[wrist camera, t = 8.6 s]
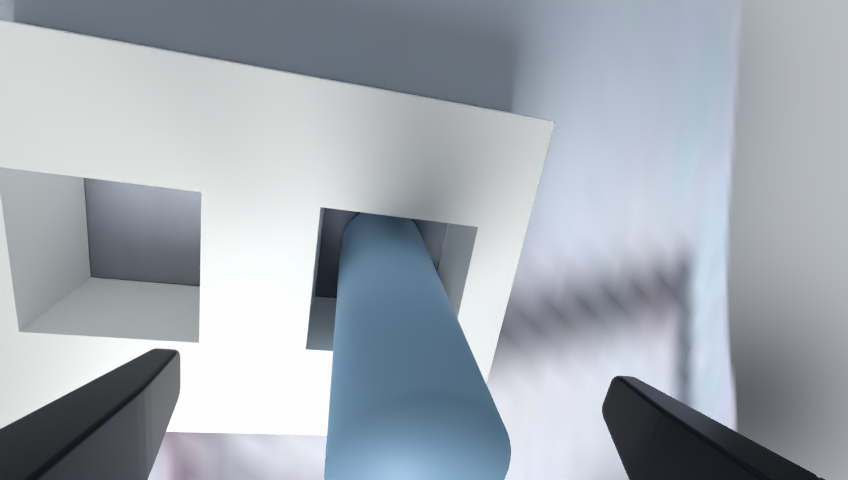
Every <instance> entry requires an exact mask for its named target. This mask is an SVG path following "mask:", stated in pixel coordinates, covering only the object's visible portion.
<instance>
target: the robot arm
mask: <svg viewBox="0 0 848 480" xmlns="http://www.w3.org/2000/svg"><path fill="white" fill-rule="evenodd" d="M179 393H180V353H179V352H178V351H177V350H175V349H160V348H155V349H152V350H150V351H148V352H146V353H144V354H142V355H140V356H138V357H137V358H135V359H133V360H131V361H129V362H127V363H125V364H123V365H121V366H119V367H117V368H115V369H114V370H112V371H110V372H108V373H106V374H104V375H102V376H100V377H98V378H96V379H94V380H93V381H91V382H89V383H87V384H85V385H83V386H81V387H79V388H77V389H75V390H73V391H72V392H70V393H68V394H66V395H64V396H62V397H60V398H58V399H56V400H54V401H52V402H51V403H49V404H47V405H45V406H43V407H41V408H39V409H37V410H35V411H33V412H31V413H30V414H28V415H26V416H24V417H22V418H20V419H18V420H16V421H14V422H12V423H10V424H9V425H7V426H5V427H3V428H1V429H0V480H147V479H148V477H149V474H150V472H151V469H152V467H153V464H154V461H155V459H156V456H157V454H158V451H159V448H160V446H161V443H162V440H163V438H164V435H165V433H166V430H167V427H168V425H169V422H170V419H171V417H172V414H173V412H174V409H175V406H176V404H177V401H178V398H179ZM602 413H603V417H604V420H605V422H606V425H607V427H608V430H609V432H610V434H611V437H612V439H613V442H614V444H615V446H616V449H617V451H618V454H619V456H620V459H621V461H622V463H623V466H624V468H625V471H626V473H627V475H628V477H629V480H825V479H823V478H818V477H817V476H816V475H815V474H813V473H812V472H809V471H808V470H806V469H804V468H802V467H800V466H799V465H797V464H795V463H793V462H791V461H789V460H787V459H785V458H783V457H782V456H780V455H778V454H776V453H774V452H772V451H771V450H769V449H767V448H765V447H763V446H761V445H759V444H758V443H756V442H754V441H752V440H750V439H748V438H746V437H744V436H743V435H741V434H739V433H737V432H735V431H733V430H732V429H730V428H728V427H726V426H724V425H722V424H720V423H719V422H717V421H715V420H713V419H711V418H709V417H707V416H706V415H704V414H702V413H700V412H698V411H696V410H694V409H693V408H691V407H689V406H687V405H685V404H683V403H681V402H680V401H678V400H676V399H674V398H672V397H670V396H668V395H667V394H665V393H663V392H661V391H659V390H657V389H655V388H653V387H652V386H650V385H648V384H646V383H644V382H642V381H640V380H639V379H637V378H635V377H630V376H616V377H614V378H613V380H612V381H611V384H610V387H609V389H608V392H607V395H606V397H605V400H604V403H603V406H602Z"/></svg>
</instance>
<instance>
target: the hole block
mask: <svg viewBox="0 0 848 480" xmlns="http://www.w3.org/2000/svg"><path fill="white" fill-rule="evenodd" d="M554 124H555V122H553V121H548V120H544V119H539V118H534V117H529V116H525V115H520V114H515V113H510V112H505V111H500V110H494V109H489V108H483V107H478V106H472V105H467V104H461V103H456V102H450V101H445V100H439V99H434V98H429V97H423V96H418V95H412V94H407V93H401V92H396V91H390V90H385V89H379V88H374V87H368V86H363V85H358V84H352V83H347V82H341V81H336V80H330V79H325V78H319V77H314V76H308V75H303V74H297V73H292V72H287V71H281V70H276V69H270V68H265V67H259V66H254V65H248V64H243V63H237V62H232V61H226V60H221V59H216V58H210V57H205V56H199V55H194V54H188V53H183V52H177V51H172V50H166V49H161V48H155V47H150V46H144V45H139V44H134V43H128V42H123V41H117V40H112V39H106V38H101V37H95V36H90V35H84V34H79V33H73V32H68V31H63V30H57V29H52V28H46V27H41V26H35V25H30V24H24V23H19V22H13V21H8V20H2V19H0V428H3V427H5V426H7V425H9V424H10V423H12V422H14V421H16V420H18V419H20V418H22V417H24V416H26V415H28V414H30V413H31V412H33V411H35V410H37V409H39V408H41V407H43V406H45V405H47V404H49V403H51V402H52V401H54V400H56V399H58V398H60V397H62V396H64V395H66V394H68V393H70V392H72V391H73V390H75V389H77V388H79V387H81V386H83V385H85V384H87V383H89V382H91V381H93V380H94V379H96V378H98V377H100V376H102V375H104V374H106V373H108V372H110V371H112V370H114V369H115V368H117V367H119V366H121V365H123V364H125V363H127V362H129V361H131V360H133V359H135V358H137V357H138V356H140V355H142V354H144V353H146V352H148V351H150V350H152V349H155V348H160V349H175V350H177V351H178V352H179V353H180V393H179V398H178V401H177V404H176V406H175V409H174V412H173V414H172V417H171V419H170V422H169V425H168V427H167V430H166V432H202V433H245V434H288V435H327V430H328V416H329V402H330V388H331V373H332V359H333V345H334V331H335V316H336V302H337V298H328V297H317V296H315V290H316V281H317V271H318V262H319V252H320V243H321V234H322V224H323V215H324V208H331V209H339V210H347V211H355V212H363V213H371V214H379V215H387V216H395V217H403V218H411V219H419V220H427V221H435V222H443V223H447V228H446V233H445V238H444V243H443V248H442V253H441V258H440V262H439V267H438V272H437V273H438V276H439V278H440V280H441V282H442V285H443V287H444V289H445V292H446V294H447V296H448V298H449V301H450V303H451V305H452V308H453V310H454V312H455V314H456V317H457V319H458V321H459V324H460V326H461V328H462V330H463V333H464V335H465V337H466V339H467V342H468V344H469V346H470V349H471V351H472V353H473V355H474V358H475V360H476V362H477V365H478V367H479V369H480V371H481V374H482V376H483V378H484V381H485V383H487V380H488V376H489V372H490V368H491V364H492V361H493V357H494V353H495V349H496V345H497V341H498V338H499V334H500V330H501V326H502V322H503V318H504V315H505V311H506V307H507V303H508V299H509V296H510V292H511V288H512V284H513V280H514V276H515V273H516V269H517V265H518V261H519V257H520V254H521V250H522V246H523V242H524V238H525V234H526V231H527V227H528V223H529V219H530V215H531V212H532V208H533V204H534V200H535V196H536V192H537V189H538V185H539V181H540V177H541V173H542V170H543V166H544V162H545V158H546V154H547V150H548V147H549V143H550V139H551V135H552V131H553V128H554ZM84 178H91V179H99V180H107V181H115V182H123V183H131V184H139V185H147V186H155V187H163V188H171V189H179V190H187V191H195V192H201V250H200V287H199V286H187V285H176V284H164V283H152V282H140V281H129V280H117V279H105V278H93V277H91V273H90V259H89V245H88V232H87V218H86V204H85V190H84Z"/></svg>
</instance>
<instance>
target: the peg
mask: <svg viewBox="0 0 848 480" xmlns="http://www.w3.org/2000/svg"><path fill="white" fill-rule="evenodd" d="M510 457H511V447H510V440H509V437H508V433H507V431H506V428H505V426H504V424H503V422H502V419H501V417H500V415H499V412H498V410H497V408H496V406H495V403H494V401H493V399H492V397H491V394H490V392H489V390H488V387H487V385H486V383H485V381H484V378H483V376H482V374H481V371H480V369H479V367H478V365H477V362H476V360H475V358H474V355H473V353H472V351H471V349H470V346H469V344H468V342H467V339H466V337H465V335H464V333H463V330H462V328H461V326H460V324H459V321H458V319H457V317H456V314H455V312H454V310H453V308H452V305H451V303H450V301H449V298H448V296H447V294H446V292H445V289H444V287H443V285H442V282H441V280H440V278H439V276H438V273H437V271H436V269H435V266H434V264H433V262H432V260H431V257H430V255H429V253H428V250H427V248H426V246H425V244H424V241H423V239H422V237H421V235H420V232H419V230H418V228H417V226H416V225H415V223H414V222H413V221H412V220H411V219H410V218H403V217H395V216H387V215H379V214H371V213H363V212H362V213H360V214H358V215H357V216H356V217H354V218H353V219H352V220H351V221H350V222H349V224H348V225H347V226H346V228H345V230H344V232H343V235H342V238H341V245H340V259H339V274H338V288H337V302H336V316H335V331H334V345H333V359H332V373H331V388H330V402H329V416H328V430H327V444H326V459H325V476H324V478H325V480H504V479H505V476H506V474H507V471H508V468H509V463H510Z"/></svg>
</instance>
